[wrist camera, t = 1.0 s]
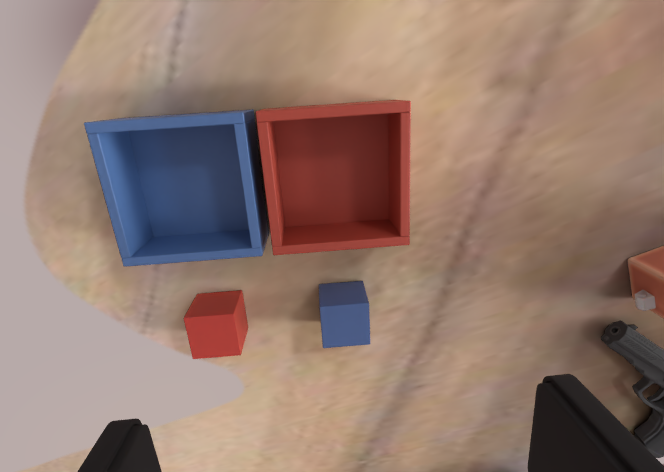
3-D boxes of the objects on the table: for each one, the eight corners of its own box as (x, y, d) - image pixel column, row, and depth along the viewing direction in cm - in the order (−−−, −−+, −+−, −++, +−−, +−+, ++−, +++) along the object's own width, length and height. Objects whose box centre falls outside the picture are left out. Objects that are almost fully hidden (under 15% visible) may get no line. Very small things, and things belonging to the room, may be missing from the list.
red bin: (263, 108, 33) (255, 111, 28) (395, 99, 34) (411, 100, 29) (278, 233, 38) (273, 255, 32) (396, 224, 38) (409, 245, 33)
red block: (197, 293, 39) (183, 317, 35) (242, 290, 39) (233, 313, 35) (205, 331, 41) (192, 359, 37) (248, 327, 41) (240, 355, 37)
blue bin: (119, 118, 33) (83, 122, 28) (253, 109, 33) (242, 112, 28) (149, 242, 37) (123, 267, 32) (269, 233, 38) (262, 256, 32)
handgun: (540, 382, 47) (616, 312, 43) (647, 445, 51) (725, 386, 47) (553, 401, 44) (636, 327, 40) (664, 466, 48) (748, 404, 44)
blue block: (318, 283, 40) (319, 307, 35) (362, 280, 40) (369, 303, 35) (321, 321, 41) (322, 348, 37) (364, 318, 41) (370, 344, 37)
